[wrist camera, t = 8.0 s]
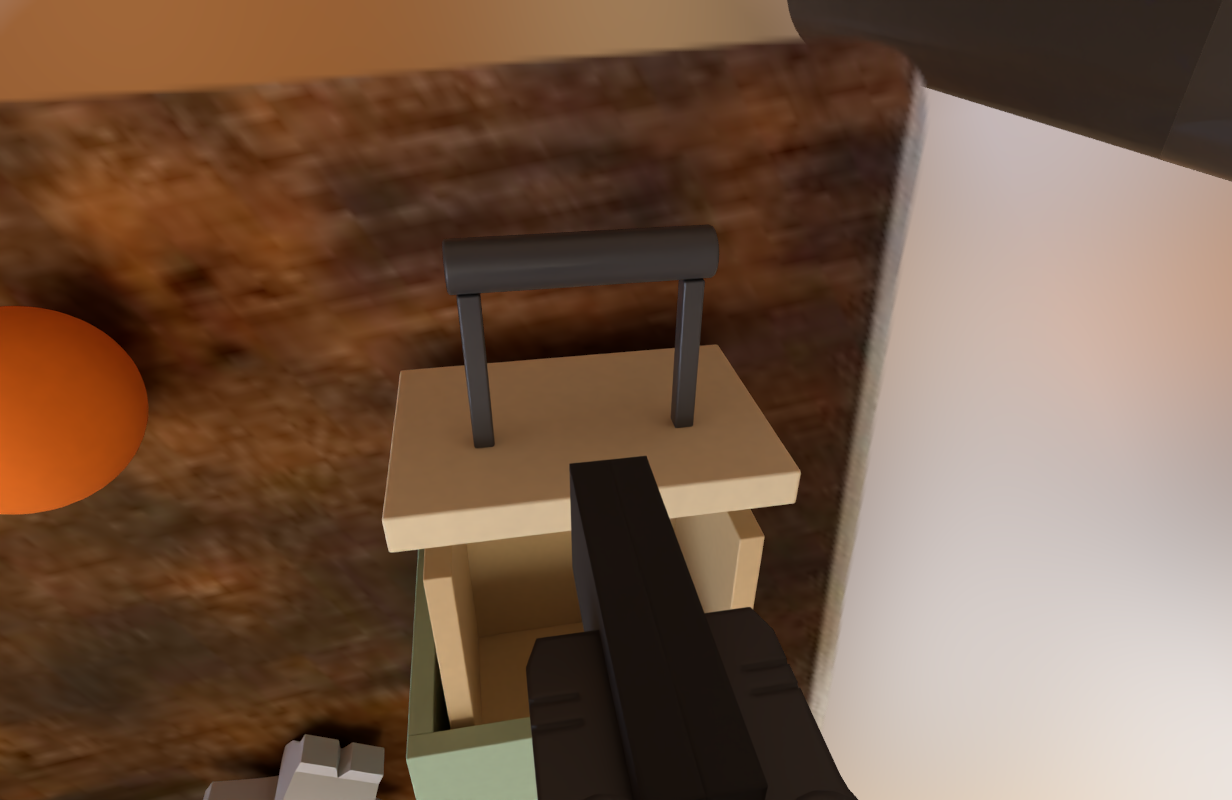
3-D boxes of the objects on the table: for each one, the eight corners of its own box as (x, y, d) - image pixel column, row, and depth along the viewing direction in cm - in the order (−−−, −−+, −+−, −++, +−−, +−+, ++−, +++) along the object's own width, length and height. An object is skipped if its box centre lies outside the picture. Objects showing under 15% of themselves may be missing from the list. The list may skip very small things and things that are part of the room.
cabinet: (418, 544, 30) (405, 759, 22) (707, 509, 32) (790, 694, 24) (456, 749, 38) (456, 963, 30) (687, 710, 40) (745, 901, 32)
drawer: (368, 188, 22) (332, 294, 15) (733, 173, 23) (841, 261, 17) (445, 633, 32) (443, 808, 26) (693, 598, 34) (750, 753, 27)
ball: (139, 267, 22) (49, 360, 17) (197, 427, 26) (136, 544, 21) (-81, 280, 21) (-244, 382, 16) (8, 444, 25) (-106, 572, 20)
